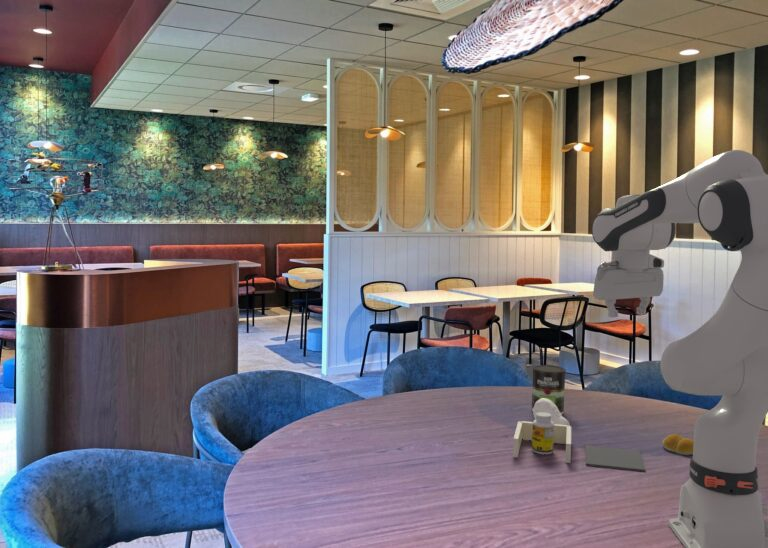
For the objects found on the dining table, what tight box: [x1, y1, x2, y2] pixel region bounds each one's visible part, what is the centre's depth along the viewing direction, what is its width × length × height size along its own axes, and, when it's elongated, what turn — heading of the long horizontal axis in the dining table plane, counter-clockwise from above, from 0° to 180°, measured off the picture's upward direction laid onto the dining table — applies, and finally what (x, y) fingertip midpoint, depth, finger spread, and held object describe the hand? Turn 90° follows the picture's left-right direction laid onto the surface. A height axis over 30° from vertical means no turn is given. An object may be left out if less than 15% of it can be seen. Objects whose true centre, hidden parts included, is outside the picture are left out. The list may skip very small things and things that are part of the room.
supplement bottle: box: [531, 412, 555, 456], centre depth 178 cm, size 6×6×10 cm
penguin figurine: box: [532, 398, 571, 426], centre depth 197 cm, size 6×8×12 cm
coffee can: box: [531, 364, 567, 415], centre depth 215 cm, size 10×10×14 cm
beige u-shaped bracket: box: [512, 420, 572, 464], centre depth 180 cm, size 16×14×5 cm
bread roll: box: [661, 433, 694, 456], centre depth 181 cm, size 8×9×4 cm
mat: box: [584, 445, 646, 472], centre depth 174 cm, size 14×14×1 cm
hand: (627, 315), depth 167 cm, fingers open, 8 cm apart
